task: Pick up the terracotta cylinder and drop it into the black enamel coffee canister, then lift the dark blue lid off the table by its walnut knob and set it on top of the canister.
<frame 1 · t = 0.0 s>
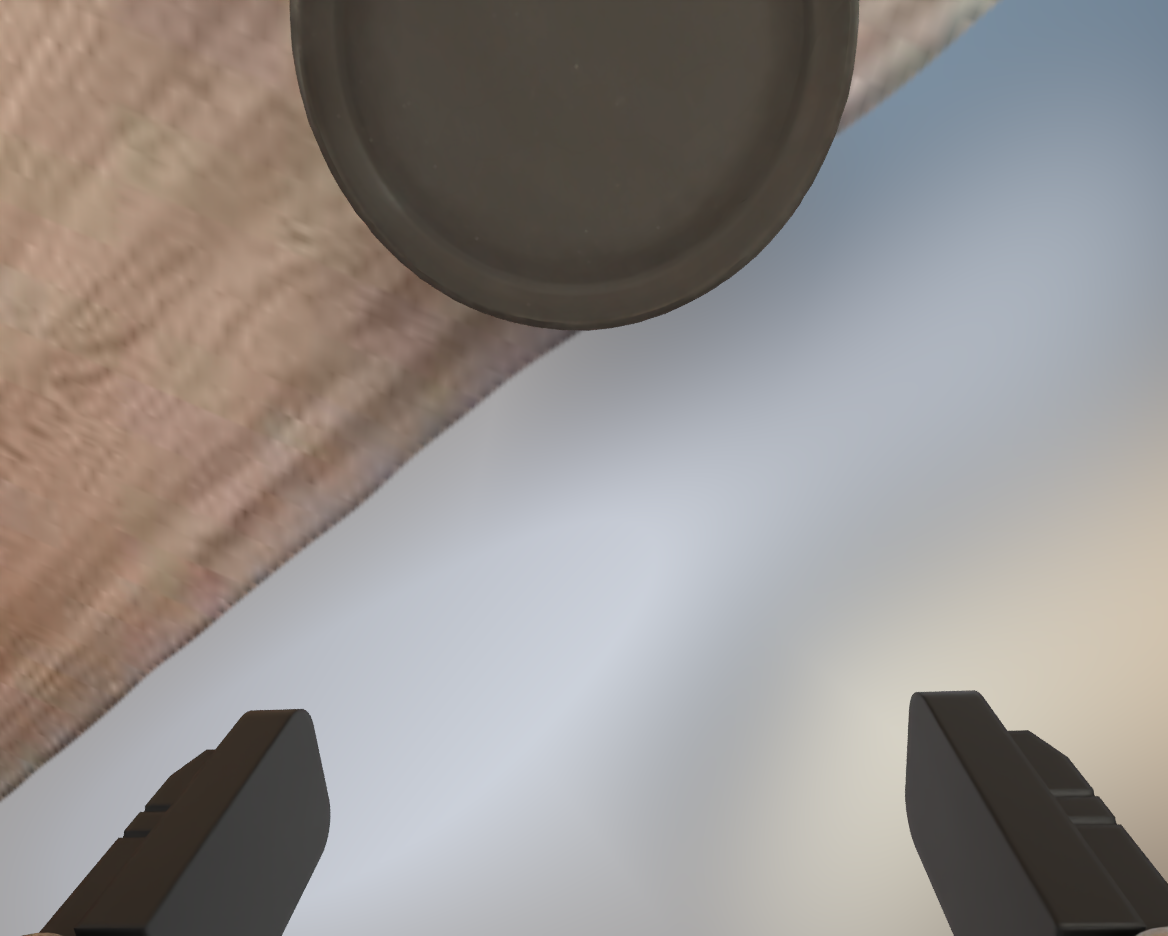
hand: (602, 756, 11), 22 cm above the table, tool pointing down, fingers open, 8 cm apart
coffee can: (598, 68, 27), on the table
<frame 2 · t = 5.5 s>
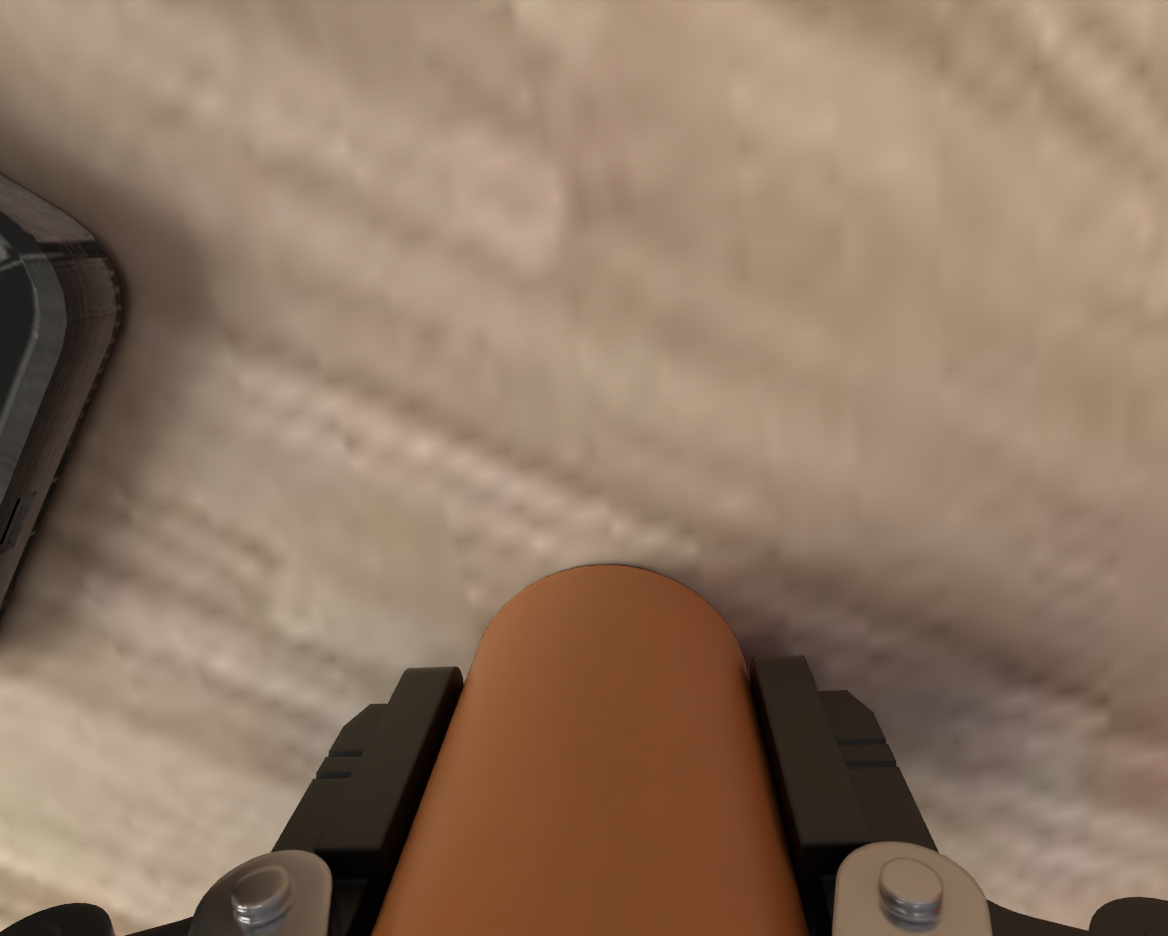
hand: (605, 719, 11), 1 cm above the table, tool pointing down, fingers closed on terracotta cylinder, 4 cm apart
terracotta cylinder: (609, 689, 12), on the table, touching gripper
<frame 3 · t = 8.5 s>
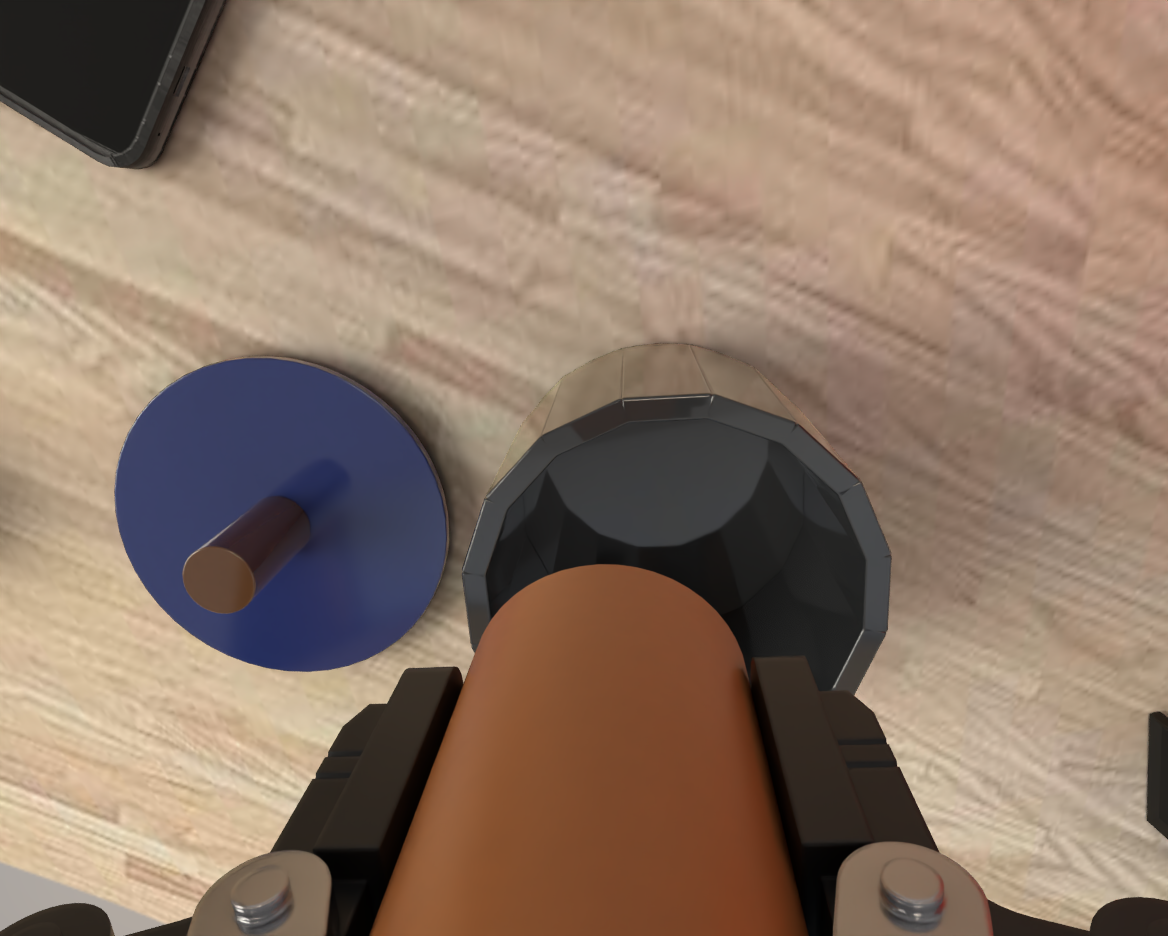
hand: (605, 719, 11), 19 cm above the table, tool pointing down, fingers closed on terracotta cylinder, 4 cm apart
lid: (285, 520, 31), point 1 cm above the table
canister: (661, 498, 30), on the table
terracotta cylinder: (608, 688, 12), point 18 cm above the table, touching gripper
when the fingers open (10 cm above the table, at t = 11.5 s): terracotta cylinder drops 8 cm, resting on canister.
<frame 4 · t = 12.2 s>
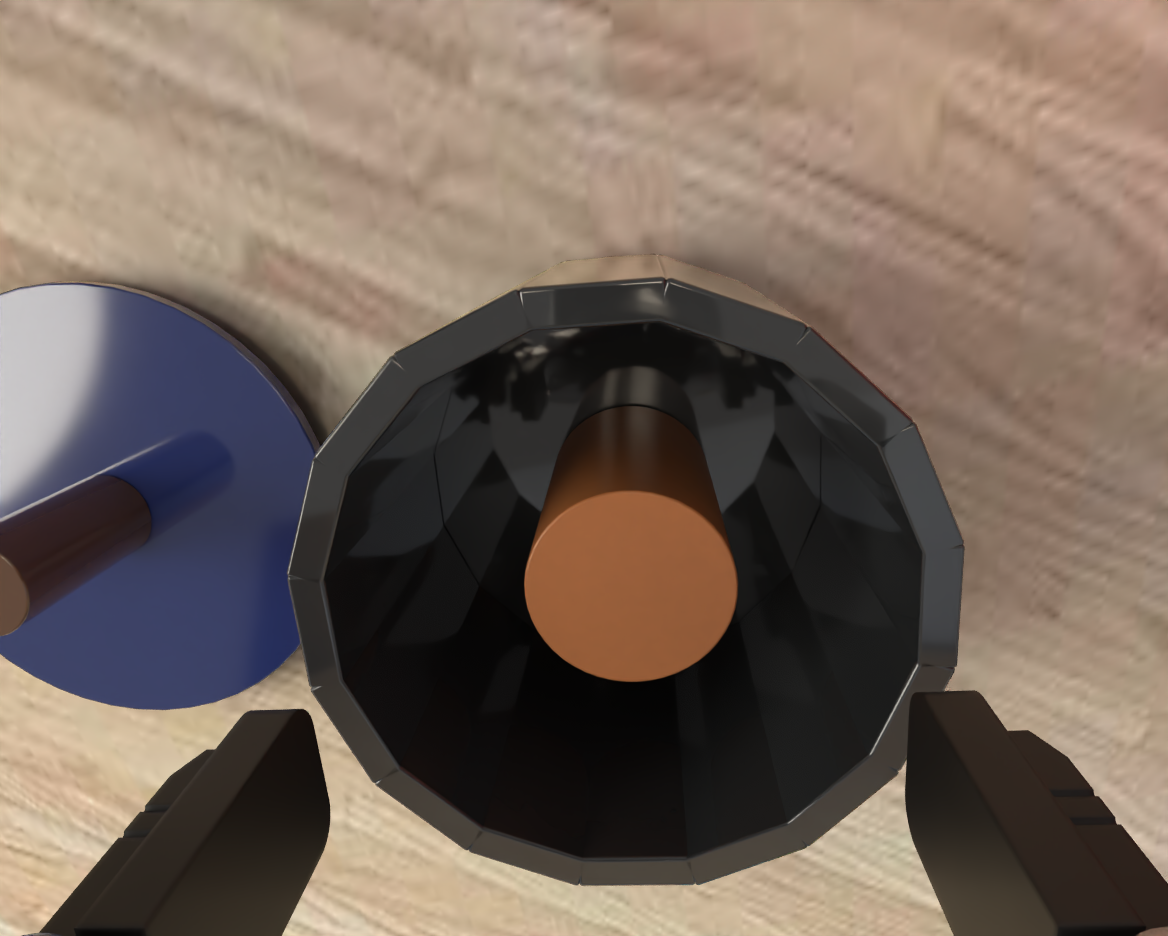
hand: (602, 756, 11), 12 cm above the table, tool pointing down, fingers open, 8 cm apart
lid: (122, 508, 23), point 1 cm above the table
canister: (626, 474, 22), on the table
terracotta cylinder: (630, 480, 22), point 1 cm above the table, touching canister
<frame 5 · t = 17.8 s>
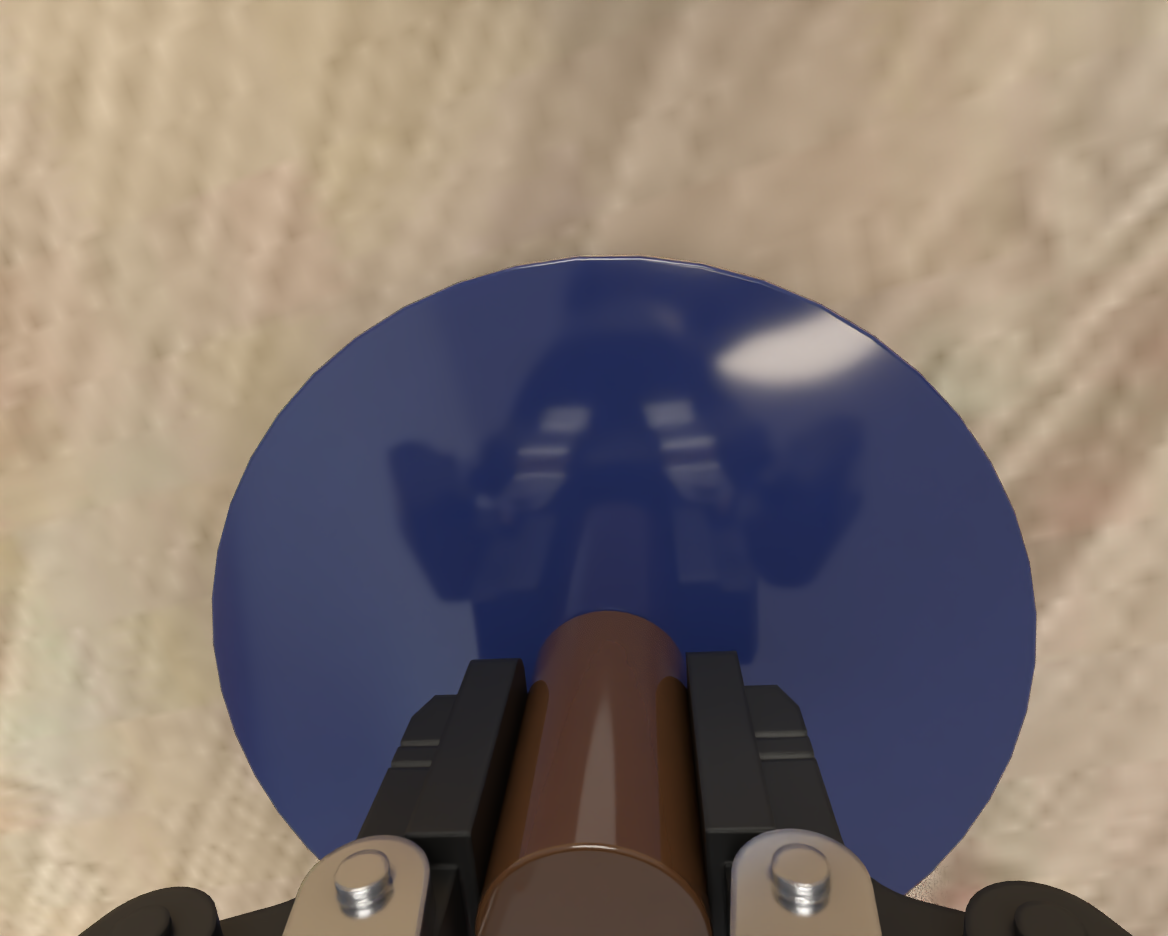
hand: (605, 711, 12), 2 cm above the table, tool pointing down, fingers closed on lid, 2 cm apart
lid: (611, 661, 13), point 1 cm above the table, touching gripper
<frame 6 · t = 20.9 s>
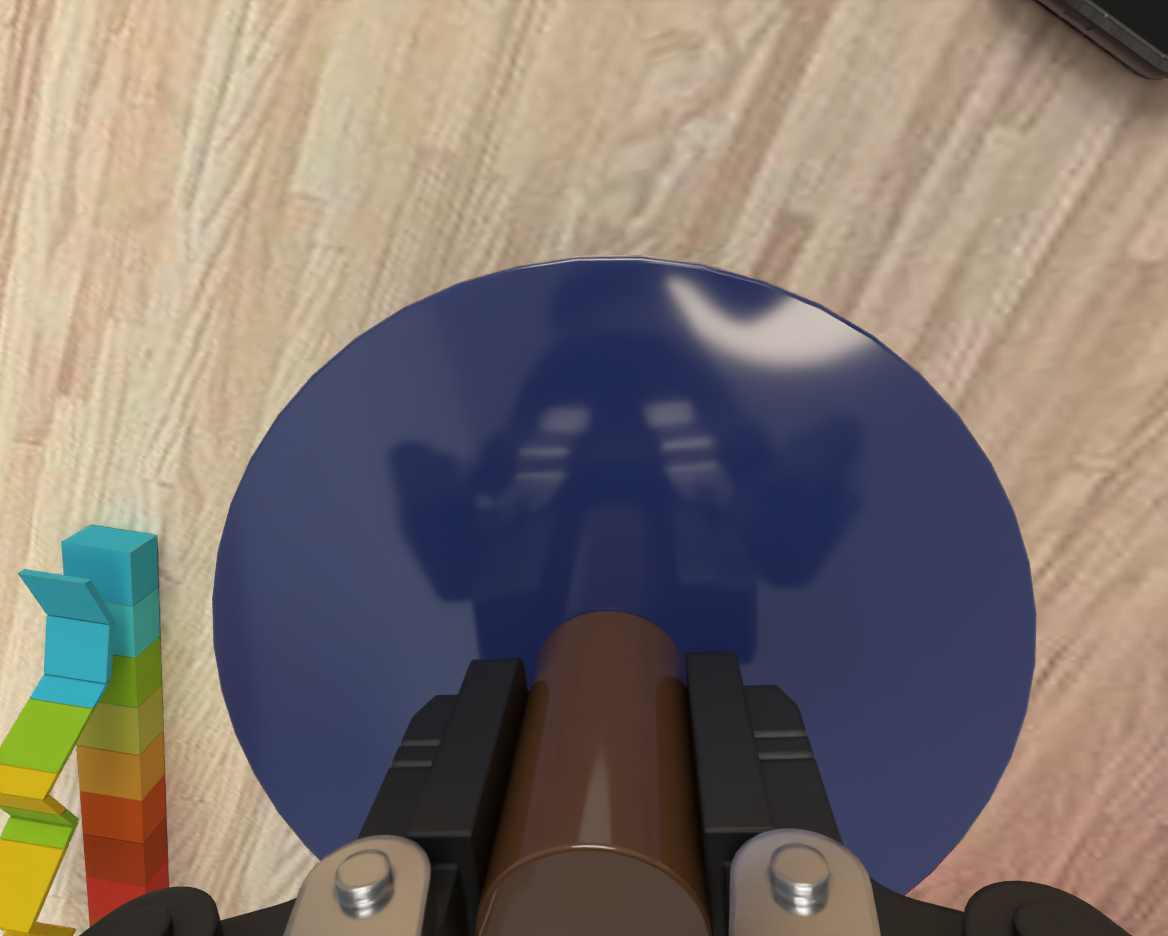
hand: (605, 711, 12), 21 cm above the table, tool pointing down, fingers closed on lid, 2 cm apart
lid: (611, 661, 13), point 20 cm above the table, touching gripper
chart: (137, 807, 40), on the table
when the fingers open (10 cm above the table, at t = 24.5 s): lid stays where it is, resting on canister.
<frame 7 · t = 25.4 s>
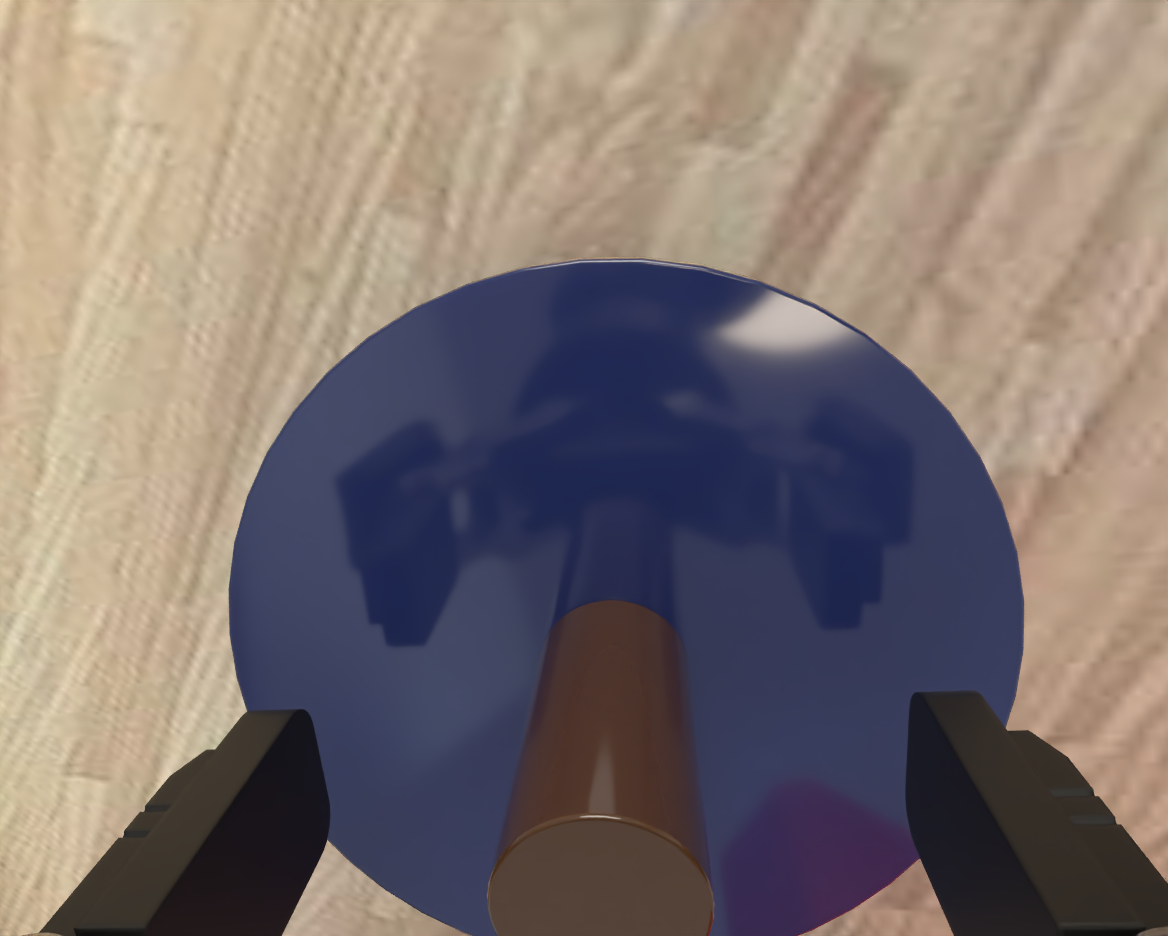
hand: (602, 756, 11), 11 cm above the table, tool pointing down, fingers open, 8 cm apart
lid: (614, 649, 13), point 8 cm above the table, touching canister
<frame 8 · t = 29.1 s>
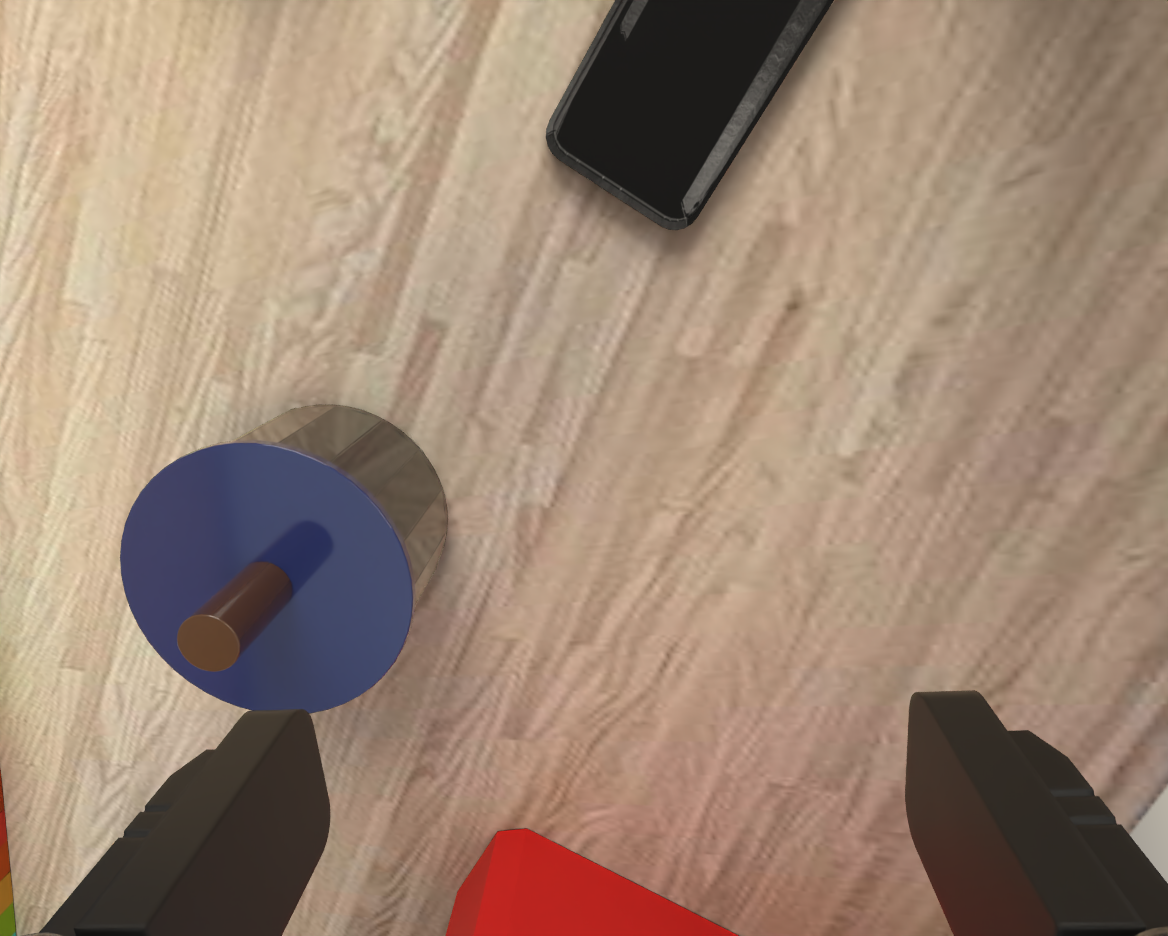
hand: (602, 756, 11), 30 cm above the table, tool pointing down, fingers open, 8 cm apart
lid: (270, 581, 35), point 8 cm above the table, touching canister
phone: (701, 38, 35), on the table
canister: (339, 511, 43), on the table
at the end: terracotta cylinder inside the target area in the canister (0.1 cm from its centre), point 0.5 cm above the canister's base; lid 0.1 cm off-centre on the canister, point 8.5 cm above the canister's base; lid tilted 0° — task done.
